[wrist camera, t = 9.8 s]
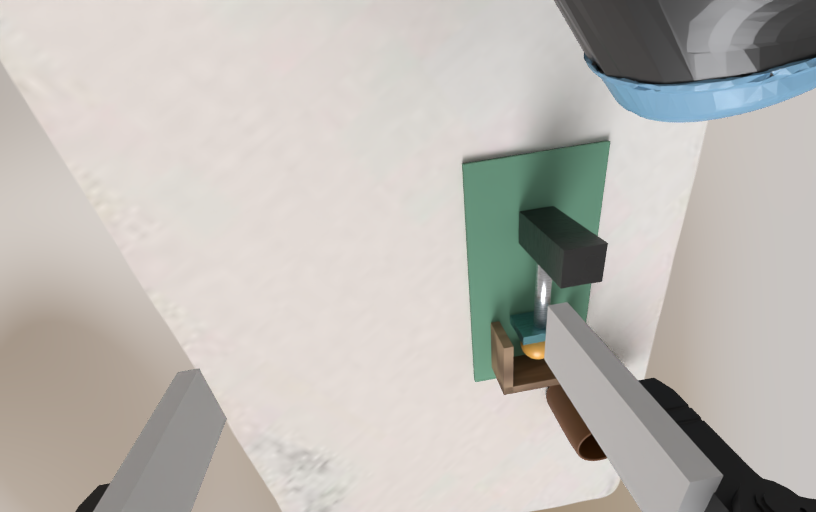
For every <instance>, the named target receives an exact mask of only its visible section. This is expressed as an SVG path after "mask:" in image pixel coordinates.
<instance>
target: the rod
mask: <svg viewBox="0 0 816 512" xmlns="http://www.w3.org/2000/svg"><path fill="white" fill-rule="evenodd" d="M519 244H520V245H521V246H522V247H523V249H524V250H525V251H526V252H527V253H528V254H529V255H530V256H531V257H532V258H533V259H534V260H535V262H536V280H535V301H534V311H532V312H527V313H521V314H516V315H510V324H511V325H512V327H513V329H514V330H515V332H516V334H517V335H518V337H519V339H520V340H521V342H522V344H523V345H527V344H532V343H538V342H543V341H545V339H546V325H547V311H548V305H550V302H551V288H552V280H553V281H554V282H555V283H556V284H557V285H558V286H559V287H560V289H562V288H567V287H573V286H579V285H584V284H590V283H596V282H601V281H602V278H603V271H604V265H605V258H606V251H607V245H608V243H607V242H605V241H604V240H602V239H601V238H599V237H598V236H597V235H595V234H594V233H592V232H591V231H589V230H588V229H586V228H585V227H584V226H582V225H581V224H579V223H578V222H576V221H575V220H573V219H572V218H570V217H569V216H568V215H566V214H565V213H563V212H562V211H560V210H559V209H557V208H556V207H555V206H549V207H543V208H537V209H531V210H525V211H519Z"/></svg>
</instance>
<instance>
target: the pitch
mask: <svg viewBox="0 0 816 512" xmlns="http://www.w3.org/2000/svg"><path fill="white" fill-rule="evenodd" d="M609 147H610V141H602V142H595V143H589V144H583V145H577V146H570V147H564V148H558V149H552V150H545V151H539V152H533V153H526V154H520V155H514V156H508V157H501V158H495V159H489V160H482V161H476V162H470V163H464V164H462V170H463V187H464V205H465V223H466V241H467V258H468V276H469V294H470V312H471V329H472V347H473V365H474V380H475V382H479V381H484V380H490V379H495V378H496V376H495V374H494V371H493V369H492V361H491V323H492V322H497V321H500V323H501V325H502V327H503V329H504V330H505V332H506V334H507V336H508V337H509V339H510V341H511V343H512V345H513V346H514V356H513V357H515V356H521V355H526V354H525V353H524V352H523V350H522V348H521V344H520V341H521V340H520V339H519V337H518V335H517V334H516V332H515V330H514V329H513V327H512V325H511V324H510V315H516V314H521V313H527V312H532V311H534V301H535V280H536V262H535V260H534V259H533V258H532V257H531V256H530V255H529V254H528V253H527V252H526V251H525V250H524V249H523V247H522V246H521V245H520V244H519V211H525V210H531V209H537V208H543V207H549V206H555V207H556V208H557V209H559V210H560V211H562V212H563V213H565V214H566V215H568V216H569V217H570V218H572V219H573V220H575V221H576V222H578V223H579V224H581V225H582V226H584V227H585V228H586V229H588V230H589V231H591V232H592V233H594V234H595V235H597V236H598V229H599V222H600V214H601V207H602V199H603V192H604V184H605V177H606V170H607V162H608V155H609ZM590 288H591V283H590V284H584V285H579V286H573V287H567V288H562V289H560V287H559V286H558V285H557V284H556V283H555V282H554V281H553V280H552V288H551V302H550V305H554V304H559V303H565V302H568V303H569V305H570V306H571V307H572V308H573V309H574V310H575V311H576V312H577V313H578V315H579V316H580V317H581V318H582V319H583V320H584V321H585V322H586V318H587V311H588V303H589V296H590Z"/></svg>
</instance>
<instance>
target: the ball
mask: <svg viewBox="0 0 816 512" xmlns="http://www.w3.org/2000/svg"><path fill="white" fill-rule="evenodd" d="M520 344H521V348H522V350H523V352H524V353H525V354H526V355H527V356H528V357H530V358H532V359H543V358H544V354H545V341H543V342H538V343H532V344H527V345H523V344H522V342H521V341H520Z"/></svg>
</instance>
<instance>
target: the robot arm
mask: <svg viewBox="0 0 816 512" xmlns="http://www.w3.org/2000/svg"><path fill="white" fill-rule="evenodd" d="M554 1H555V3H556V5H557V6H558V8H559V10H560V11H561V13H562V15H563V17H564V18H565V20H566V22H567V24H568V25H569V27H570V29H571V30H572V32H573V34H574V36H575V37H576V39H577V41H578V43H579V44H580V46H581V48H582V49H583V51H584V59H585V61H586V63H587V65H588V67H589V68H590V69H591V70H592V71H593V72H594V73H595V74H596V75H598V76H599V77H600V78H602V80H603V81H604V83H605V84H606V86H607V87H608V89H609V90H610V92H611V93H612V95H613V97H614V98H615V100H616V101H617V102H618V103H619V104H620V105H621V106H622V107H623V108H625V109H626V110H628V111H632V112H633V113H635V114H637V115H639V116H640V117H644V118H646V119H650V120H656V121H662V122H698V121H706V120H712V119H719V118H725V117H730V116H734V115H739V114H743V113H747V112H751V111H754V110H758V109H761V108H765V107H768V106H771V105H774V104H777V103H780V102H782V101H785V100H788V99H790V98H793V97H795V96H798V95H800V94H803V93H805V92H807V91H810V90H812V89H814V88H816V0H554ZM544 360H545V361H546V363H547V364H548V366H549V368H550V369H551V371H552V372H553V374H554V375H555V377H556V378H557V380H558V382H559V383H560V385H561V386H562V388H563V389H564V391H565V392H566V394H567V396H568V397H569V399H570V400H571V402H572V403H573V405H574V407H575V408H576V410H577V411H578V413H579V414H580V416H581V417H582V419H583V421H584V422H585V424H586V425H587V427H588V428H589V430H590V431H591V433H592V435H593V436H594V438H595V439H596V441H597V442H598V444H599V445H600V447H601V449H602V450H603V452H604V453H605V455H606V456H607V458H608V460H609V461H610V463H611V464H612V466H613V467H614V469H615V470H616V472H617V474H618V475H619V477H620V478H621V480H622V481H623V483H624V484H625V486H626V488H627V489H628V491H629V492H630V494H631V495H632V497H633V499H634V500H635V502H636V503H637V505H638V506H639V508H640V509H641V511H642V512H816V499H809V498H804V497H800V496H798V495H797V494H795V493H794V492H793V491H791V490H790V489H788V488H786V487H784V486H782V485H780V484H778V483H776V482H774V481H770V480H766V479H763V478H761V477H760V476H759V475H758V474H757V473H755V472H754V471H753V470H752V469H751V468H750V467H749V466H748V465H747V464H746V463H745V462H744V461H743V460H742V459H741V458H740V457H739V456H738V455H737V454H736V453H735V452H734V451H733V450H732V449H731V448H730V447H729V446H728V445H727V444H726V443H725V442H724V441H723V440H722V439H721V438H720V436H718V435H717V433H715V431H714V430H713V429H712V428H711V427H710V426H709V425H708V424H707V423H706V422H705V421H702V420H701V417H700V416H699V415H698V414H697V413H696V412H695V411H694V410H693V409H692V408H689V407H688V404H687V403H686V402H685V401H684V400H683V399H682V398H681V397H680V396H679V395H678V394H677V393H676V392H675V391H674V390H673V389H671V388H670V387H668V386H666V385H665V384H663V383H662V382H660V381H659V380H657V379H655V378H650V379H644V380H639V381H638V380H637V379H636V378H635V377H634V376H633V375H632V373H631V372H630V371H629V370H628V369H627V368H626V367H625V366H624V365H623V363H622V362H621V361H620V360H619V359H618V358H617V357H616V356H615V355H614V353H613V352H612V351H611V350H610V349H609V348H608V347H607V346H606V345H605V343H604V342H603V341H602V340H601V339H600V338H599V337H598V336H597V335H596V333H595V332H594V331H593V330H592V329H591V328H590V327H589V326H588V325H587V323H586V322H585V321H584V320H583V319H582V318H581V317H580V316H579V315H578V313H577V312H576V311H575V310H574V309H573V308H572V307H571V306H570V305H569V303H568V302H565V303H559V304H554V305H548V311H547V325H546V339H545V354H544ZM226 419H227V418H226V416H225V415H224V413H223V411H222V409H221V407H220V406H219V404H218V402H217V400H216V398H215V396H214V395H213V393H212V391H211V389H210V387H209V386H208V384H207V382H206V380H205V378H204V377H203V375H202V373H201V371H200V369H193V370H188V371H182V372H178V373H177V374H176V376H175V378H174V379H173V381H172V383H171V384H170V386H169V387H168V389H167V391H166V393H165V394H164V396H163V397H162V399H161V401H160V402H159V404H158V406H157V407H156V409H155V410H154V412H153V414H152V416H151V417H150V419H149V420H148V422H147V424H146V425H145V427H144V429H143V430H142V432H141V434H140V435H139V437H138V439H137V440H136V442H135V443H134V445H133V447H132V449H131V450H130V452H129V454H128V455H127V457H126V458H125V460H124V462H123V463H122V465H121V467H120V468H119V470H118V471H117V473H116V475H115V476H114V478H113V480H112V481H111V483H109V484H104V485H99V486H98V487H97V488H96V489H95V490H94V491H93V492H92V493H91V494H90V495H89V496H88V497H87V498H86V500H84V502H83V503H82V504H81V505H80V506H79V507H78V509H77V510H76V512H191V510H192V508H193V505H194V502H195V500H196V497H197V495H198V491H199V489H200V487H201V484H202V481H203V479H204V476H205V474H206V471H207V468H208V466H209V463H210V461H211V458H212V455H213V453H214V450H215V448H216V445H217V442H218V440H219V437H220V435H221V432H222V429H223V427H224V424H225V422H226Z"/></svg>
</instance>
